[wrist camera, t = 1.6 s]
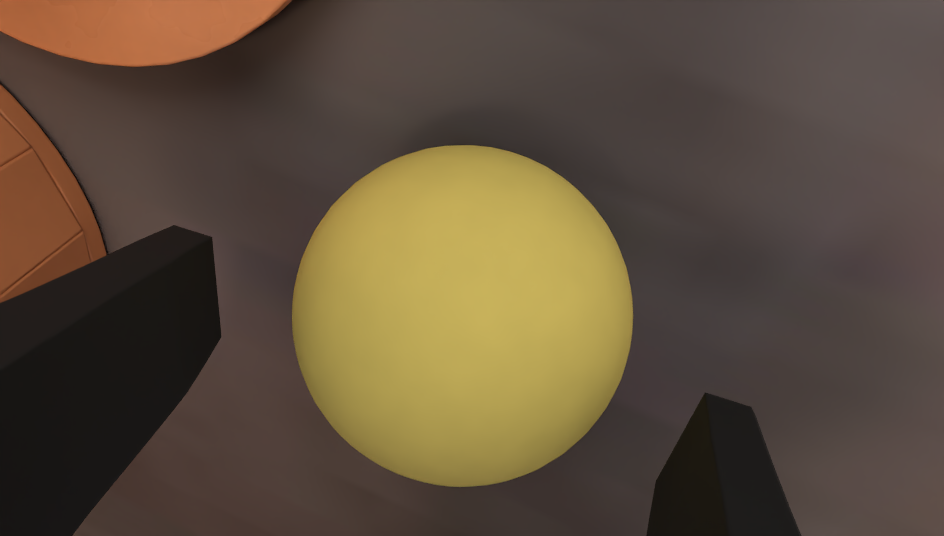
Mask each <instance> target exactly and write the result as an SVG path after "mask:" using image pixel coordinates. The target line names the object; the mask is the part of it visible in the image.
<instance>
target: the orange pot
mask: <svg viewBox="0 0 944 536" xmlns="http://www.w3.org/2000/svg"><path fill="white" fill-rule="evenodd" d="M106 255H107V254H106V250H105V246H104V243H103V239H102V236H101V232H100V229H99V227H98V224H97V222H96V219H95V217H94V214H93V212H92V209H91V207H90V205H89V203H88V201H87V199H86V197H85V195H84V193H83V191H82V189H81V188H80V186H79V184H78V182H77V180H76V178H75V177H74V175H73V174H72V172H71V170H70V169H69V167H68V166H67V164H66V163H65V161H64V160H63V158H62V156H61V155H60V153H59V152H58V150H57V149H56V148H55V146H54V145H53V144H52V142H51V141H50V140H49V139H48V137H47V136H46V135H45V133H44V132H43V131H42V129H41V128H40V127H39V125H38V124H37V123H36V122H35V121H34V119H33V118H32V117H31V116H30V115H29V114H28V113H27V112H26V110H25V109H24V108H23V107H22V106H21V105H20V104H19V103H18V101H17V100H16V99H15V98H14V97H13V96H12V95H11V94H10V93H9V92H8V91H7V90H6V89H5V88H4V87H3V86H2V85H1V84H0V303H1V302H4V301H6V300H9V299H11V298H13V297H16V296H18V295H20V294H23V293H25V292H27V291H29V290H32V289H34V288H36V287H38V286H41V285H43V284H45V283H47V282H49V281H52V280H54V279H56V278H58V277H60V276H63V275H65V274H67V273H69V272H71V271H74V270H76V269H78V268H80V267H83V266H85V265H87V264H89V263H91V262H93V261H95V260H98V259H100V258H102V257H104V256H106Z"/></svg>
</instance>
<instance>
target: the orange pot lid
mask: <svg viewBox="0 0 944 536" xmlns="http://www.w3.org/2000/svg"><path fill="white" fill-rule="evenodd" d="M291 1H292V0H0V31H1V32H3V33H5V34H7V35H9V36H11V37H13V38H15V39H17V40H19V41H22V42H24V43H26V44H29V45H32V46H35V47H38V48H40V49H43V50H46V51H49V52H52V53H54V54H57V55H60V56H64V57H69V58H73V59H78V60H82V61H86V62H91V63H95V64H104V65H116V66H128V67H142V66H156V65H170V64H174V63H178V62H182V61H187V60H191V59H195V58H199V57H203V56H206V55H208V54H210V53H212V52H215V51H217V50H219V49H222V48H224V47H226V46H228V45H231V44H233V43H235V42H237V41H238V40H240V39H242V38H243V37H245V36H246V35H248V34H249V33H251V32H252V31H254V30H255V29H257V28H258V27H260V26H261V25H263V24H264V23H265V22H267V21H268V20H270V19H271V18H273V17H274V16H276V15H277V14H279V13H280V12H281V11H282V10H283V9H284V8H285V7H286V6H287V5H288V4H289V3H290V2H291Z"/></svg>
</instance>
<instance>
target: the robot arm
mask: <svg viewBox="0 0 944 536" xmlns="http://www.w3.org/2000/svg"><path fill="white" fill-rule="evenodd" d="M220 338H221V328H220V317H219V307H218V296H217V285H216V275H215V264H214V254H213V243H212V237H210V236H207V235H204V234H200V233H197V232H194V231H191V230H188V229H185V228H181V227H178V226H175V225H173V226H171V227H169V228H166V229H164V230H161V231H159V232H157V233H154V234H152V235H150V236H148V237H145V238H143V239H141V240H139V241H136V242H134V243H132V244H130V245H128V246H126V247H123V248H121V249H119V250H117V251H115V252H113V253H111V254H108V255H106V256H104V257H102V258H100V259H98V260H95V261H93V262H91V263H89V264H87V265H85V266H83V267H80V268H78V269H76V270H74V271H71V272H69V273H67V274H65V275H63V276H60V277H58V278H56V279H54V280H52V281H49V282H47V283H45V284H43V285H41V286H38V287H36V288H34V289H32V290H29V291H27V292H25V293H23V294H20V295H18V296H16V297H13V298H11V299H9V300H6V301H4V302H1V303H0V536H72V535H73V534H74V532H75V531H76V530H77V528H78V527H79V526H80V524H81V523H82V522H83V520H84V519H85V518H86V516H87V515H88V514H89V513H90V512H91V510H92V509H93V508H94V507H95V505H96V504H97V503H98V502H99V501H100V499H101V498H102V497H103V496H104V494H105V493H106V492H107V491H108V490H109V488H110V487H111V486H112V485H113V483H114V482H115V481H116V480H117V479H118V477H119V476H120V475H121V474H122V472H123V471H124V470H125V469H126V468H127V466H128V465H129V464H130V463H131V461H132V460H133V459H134V458H135V457H136V455H137V454H138V453H139V452H140V451H141V449H142V448H143V447H144V446H145V444H146V443H147V442H148V441H149V440H150V438H151V437H152V436H153V435H154V433H155V432H156V431H157V430H158V428H159V427H160V426H161V425H162V423H163V422H164V421H165V420H166V418H167V417H168V416H169V415H170V414H171V412H172V411H173V410H174V409H175V407H176V406H177V405H178V403H179V402H180V401H181V400H182V398H183V397H184V396H185V395H186V393H187V392H188V390H189V389H190V387H191V385H192V384H193V382H194V381H195V379H196V378H197V376H198V375H199V373H200V371H201V370H202V368H203V367H204V365H205V363H206V362H207V360H208V358H209V357H210V355H211V353H212V351H213V350H214V348H215V346H216V345H217V343H218V341H219V340H220ZM647 536H801V534H800V531H799V529H798V527H797V524H796V522H795V519H794V517H793V514H792V512H791V509H790V507H789V504H788V502H787V499H786V497H785V494H784V491H783V489H782V486H781V484H780V481H779V479H778V476H777V473H776V471H775V468H774V465H773V463H772V460H771V457H770V455H769V452H768V449H767V446H766V444H765V441H764V438H763V435H762V432H761V430H760V427H759V424H758V421H757V418H756V416H755V414H754V412H753V410H752V408H751V407H749V406H746V405H743V404H740V403H737V402H733V401H730V400H727V399H724V398H721V397H718V396H714V395H711V394H708V393H705V394H704V395H703V397H702V399H701V401H700V403H699V404H698V406H697V408H696V410H695V412H694V413H693V415H692V417H691V419H690V421H689V422H688V424H687V426H686V428H685V430H684V431H683V433H682V435H681V437H680V439H679V440H678V442H677V444H676V446H675V448H674V449H673V451H672V453H671V455H670V457H669V458H668V460H667V462H666V464H665V466H664V467H663V469H662V471H661V473H660V475H659V477H658V478H657V480H656V484H655V489H654V495H653V501H652V506H651V512H650V518H649V524H648V530H647Z"/></svg>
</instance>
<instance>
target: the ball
mask: <svg viewBox="0 0 944 536" xmlns="http://www.w3.org/2000/svg"><path fill="white" fill-rule="evenodd" d="M632 327H633V303H632V294H631V288H630V282H629V278H628V273H627V268H626V265H625V263H624V260H623V257H622V255H621V252H620V250H619V247H618V245H617V242H616V240H615V238H614V236H613V235H612V233H611V231H610V229H609V227H608V226H607V224H606V222H605V221H604V220H603V218H602V217H601V216H600V214H599V213H598V212H597V210H596V209H595V208H594V206H593V205H592V204H591V203H590V202H589V201H588V200H587V199H586V198H585V197H584V196H583V195H582V194H581V193H580V192H579V191H578V190H577V189H576V188H575V187H574V186H573V185H572V184H570V183H569V182H568V181H567V180H565V179H564V178H563V177H562V176H560V175H559V174H557V173H555V172H554V171H552V170H551V169H549V168H547V167H546V166H544V165H542V164H540V163H538V162H536V161H534V160H532V159H530V158H527V157H524V156H522V155H519V154H516V153H513V152H510V151H506V150H501V149H497V148H492V147H485V146H475V145H455V146H440V147H434V148H427V149H424V150H420V151H417V152H414V153H410V154H407V155H404V156H401V157H398V158H396V159H394V160H392V161H390V162H388V163H385V164H383V165H381V166H380V167H378V168H377V169H375V170H373V171H372V172H370V173H369V174H367V175H366V176H364V177H363V178H362V179H360V180H359V181H357V182H356V183H355V184H353V185H352V186H351V187H350V188H349V189H348V190H347V191H346V192H345V193H344V194H343V195H342V196H341V197H340V198H339V199H338V200H337V201H336V202H335V203H334V204H333V205H332V206H331V208H330V209H329V211H328V212H327V213H326V215H325V216H324V217H323V219H322V220H321V222H320V223H319V225H318V226H317V228H316V229H315V231H314V233H313V235H312V237H311V239H310V241H309V243H308V245H307V247H306V250H305V252H304V255H303V257H302V259H301V262H300V266H299V270H298V274H297V278H296V282H295V287H294V292H293V304H292V329H293V339H294V344H295V350H296V355H297V359H298V363H299V367H300V369H301V372H302V374H303V377H304V379H305V382H306V384H307V387H308V389H309V392H310V394H311V396H312V397H313V399H314V401H315V403H316V405H317V406H318V407H319V409H320V410H321V412H322V413H323V415H324V416H325V417H326V419H327V420H328V421H329V423H330V424H331V425H332V427H333V428H334V429H335V430H336V431H337V432H338V434H339V435H340V436H341V437H343V438H344V439H345V440H346V441H347V442H348V443H349V444H350V445H351V446H352V447H354V448H355V449H356V450H357V451H359V452H360V453H362V454H363V455H364V456H366V457H367V458H369V459H370V460H372V461H374V462H375V463H377V464H379V465H381V466H382V467H384V468H386V469H388V470H390V471H392V472H394V473H397V474H400V475H402V476H405V477H408V478H411V479H414V480H418V481H421V482H425V483H430V484H434V485H442V486H452V487H468V486H482V485H489V484H496V483H501V482H504V481H508V480H511V479H514V478H517V477H520V476H523V475H526V474H528V473H530V472H533V471H535V470H537V469H539V468H541V467H543V466H544V465H546V464H548V463H549V462H551V461H553V460H554V459H556V458H557V457H559V456H561V455H562V454H564V453H565V452H566V451H567V450H568V449H570V448H571V447H572V446H573V445H574V444H575V443H576V442H577V441H579V440H580V439H581V438H582V437H583V436H584V435H585V434H586V433H587V432H588V431H589V430H590V428H591V427H592V426H593V425H594V424H595V422H596V421H597V420H598V418H599V417H600V416H601V414H602V413H603V412H604V410H605V409H606V408H607V406H608V404H609V402H610V400H611V398H612V397H613V395H614V393H615V391H616V389H617V387H618V384H619V382H620V380H621V378H622V375H623V371H624V368H625V365H626V362H627V358H628V354H629V350H630V345H631V337H632Z"/></svg>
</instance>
